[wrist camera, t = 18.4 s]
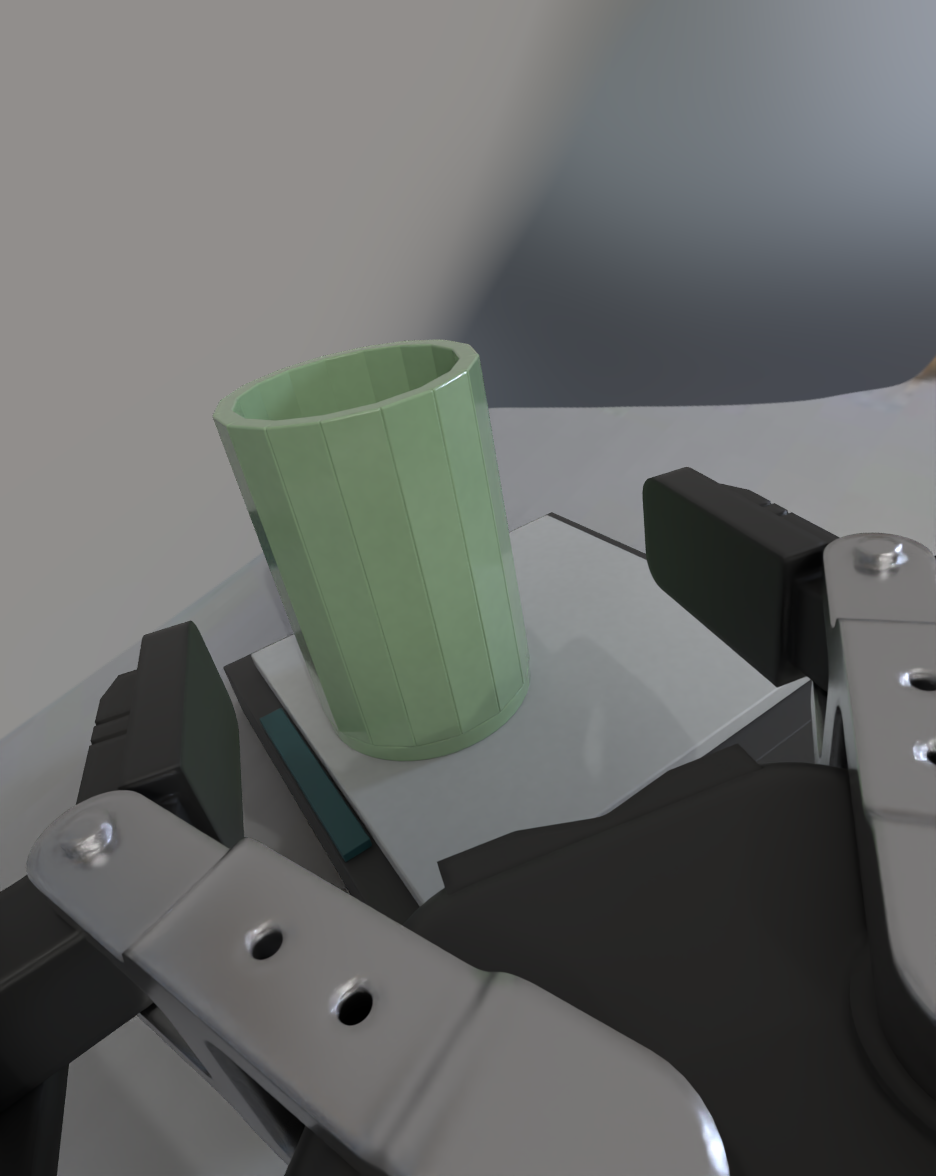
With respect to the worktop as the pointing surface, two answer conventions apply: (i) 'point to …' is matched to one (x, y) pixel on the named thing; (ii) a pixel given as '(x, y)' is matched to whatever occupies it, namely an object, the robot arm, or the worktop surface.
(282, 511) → the tumbler
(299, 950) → the robot arm
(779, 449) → the worktop surface
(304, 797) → the scale
